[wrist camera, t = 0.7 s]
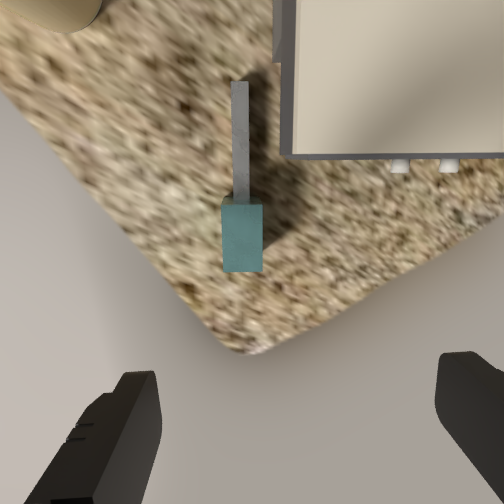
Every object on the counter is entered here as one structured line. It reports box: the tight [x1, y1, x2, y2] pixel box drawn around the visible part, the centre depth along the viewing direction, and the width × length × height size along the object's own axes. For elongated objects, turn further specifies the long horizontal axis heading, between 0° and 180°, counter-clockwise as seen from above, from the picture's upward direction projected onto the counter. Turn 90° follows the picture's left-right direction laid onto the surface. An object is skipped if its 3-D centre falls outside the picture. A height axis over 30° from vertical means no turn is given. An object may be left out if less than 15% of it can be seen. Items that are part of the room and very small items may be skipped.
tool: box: [221, 81, 263, 272], centre depth 29 cm, size 16×4×6 cm, turn 0°
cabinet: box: [272, 0, 504, 173], centre depth 22 cm, size 15×17×17 cm
